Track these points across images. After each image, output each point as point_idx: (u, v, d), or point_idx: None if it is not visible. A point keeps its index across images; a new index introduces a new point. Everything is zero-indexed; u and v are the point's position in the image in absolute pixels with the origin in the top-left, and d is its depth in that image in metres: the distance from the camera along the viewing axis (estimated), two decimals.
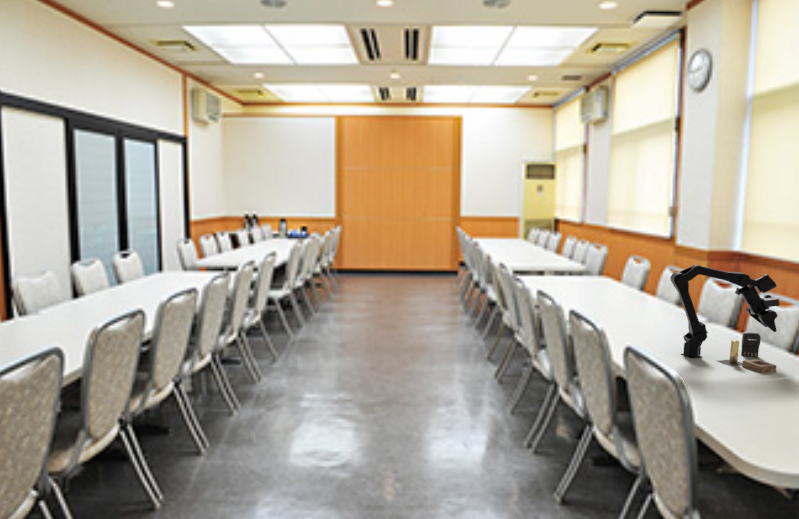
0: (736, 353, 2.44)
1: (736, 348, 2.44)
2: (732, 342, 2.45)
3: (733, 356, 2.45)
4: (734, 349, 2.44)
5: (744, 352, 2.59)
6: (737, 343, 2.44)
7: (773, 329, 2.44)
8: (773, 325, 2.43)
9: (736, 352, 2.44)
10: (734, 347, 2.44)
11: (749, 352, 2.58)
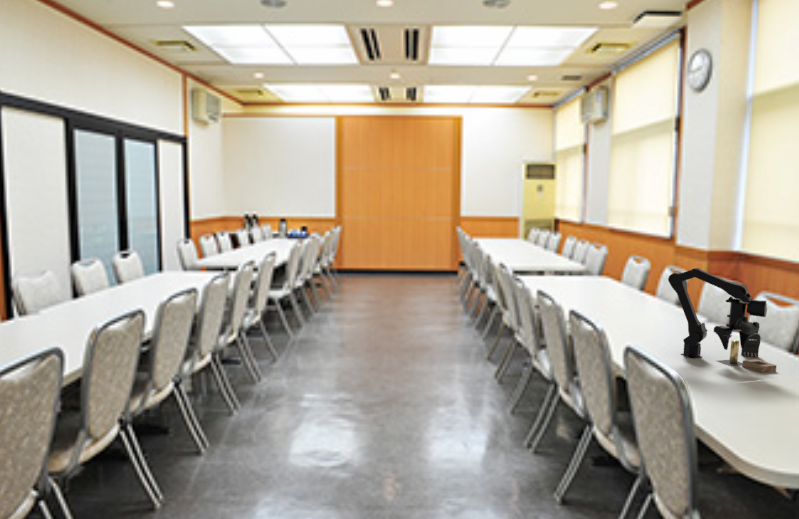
0: (736, 353, 2.44)
1: (736, 348, 2.44)
2: (732, 342, 2.45)
3: (733, 356, 2.45)
4: (734, 349, 2.44)
5: (744, 352, 2.59)
6: (737, 343, 2.44)
7: (724, 346, 2.44)
8: (725, 342, 2.43)
9: (736, 352, 2.44)
10: (734, 347, 2.44)
11: (749, 352, 2.58)
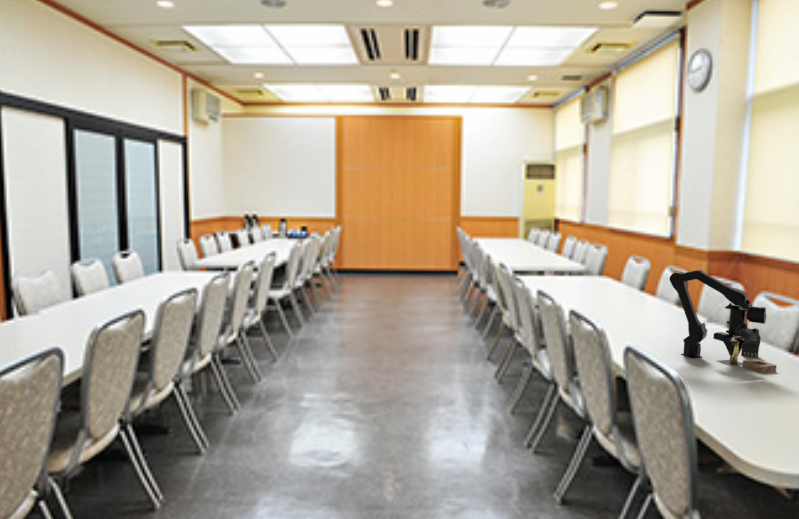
0: (736, 353, 2.44)
1: (736, 348, 2.44)
2: None
3: (733, 356, 2.45)
4: (734, 349, 2.44)
5: (744, 352, 2.59)
6: (737, 343, 2.44)
7: (729, 352, 2.46)
8: (730, 348, 2.45)
9: (736, 352, 2.44)
10: (734, 347, 2.44)
11: (749, 352, 2.58)
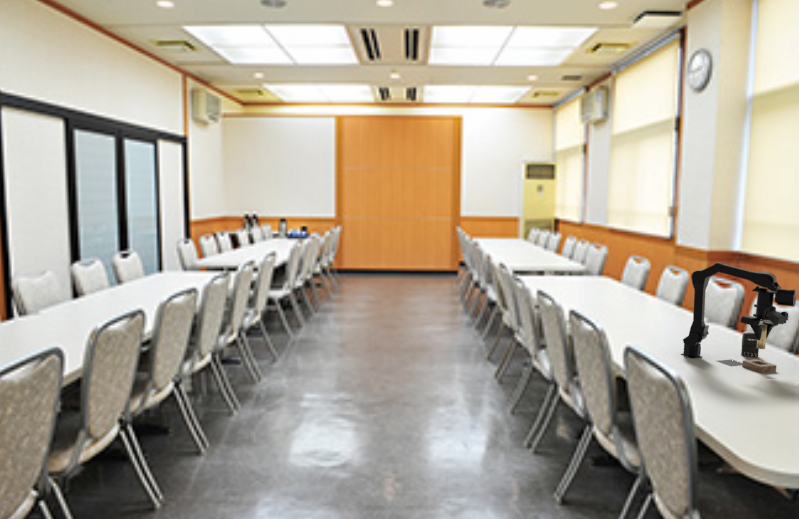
0: (764, 337, 2.36)
1: (764, 332, 2.36)
2: None
3: (760, 340, 2.36)
4: (762, 333, 2.36)
5: (744, 352, 2.59)
6: (765, 327, 2.35)
7: (756, 336, 2.37)
8: (757, 332, 2.36)
9: (764, 336, 2.36)
10: (762, 331, 2.36)
11: (749, 352, 2.58)
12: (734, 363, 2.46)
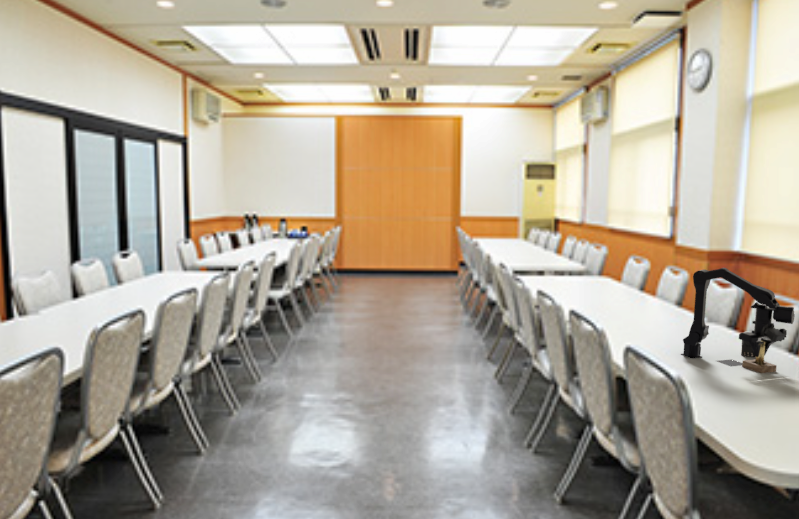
0: (762, 354, 2.37)
1: (762, 349, 2.37)
2: None
3: (759, 357, 2.37)
4: (760, 350, 2.37)
5: (744, 352, 2.59)
6: (763, 344, 2.36)
7: (755, 353, 2.38)
8: (756, 349, 2.37)
9: (762, 353, 2.37)
10: (760, 347, 2.37)
11: (749, 352, 2.58)
12: (734, 363, 2.46)
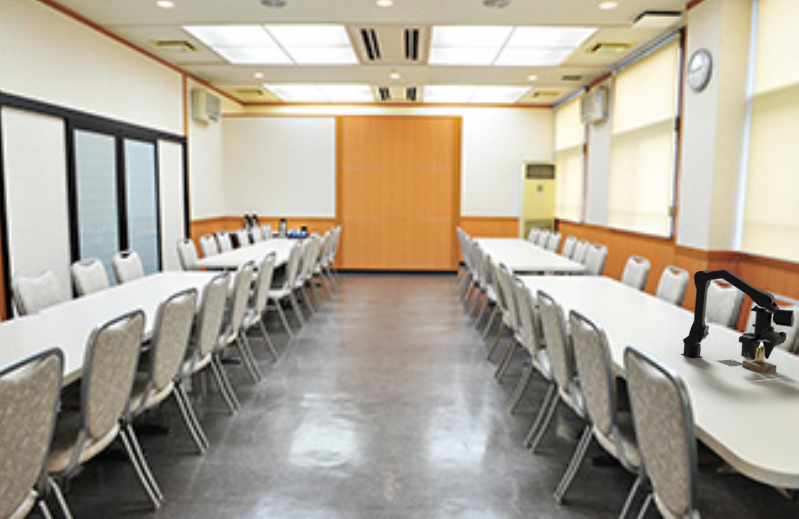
0: (762, 359, 2.37)
1: (762, 354, 2.37)
2: (758, 348, 2.38)
3: (758, 362, 2.38)
4: (760, 355, 2.37)
5: (744, 352, 2.59)
6: (763, 349, 2.37)
7: (751, 356, 2.38)
8: (752, 352, 2.37)
9: (762, 358, 2.37)
10: (760, 353, 2.37)
11: None
12: (734, 363, 2.46)
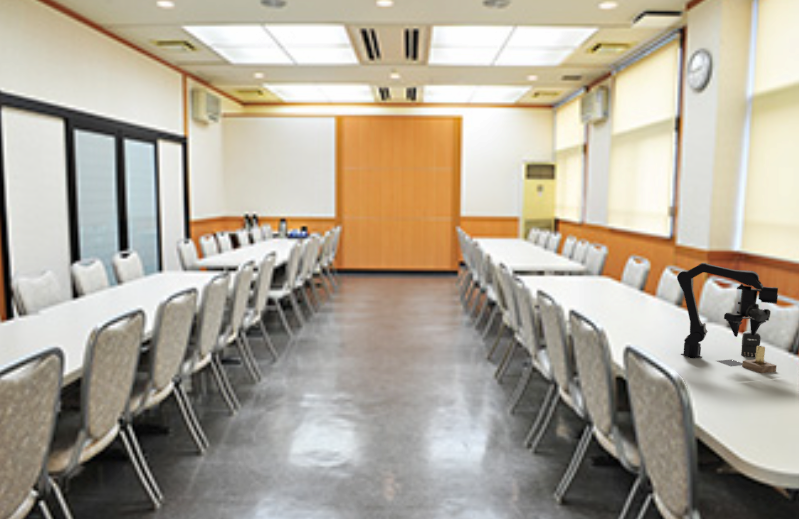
0: (762, 359, 2.37)
1: (762, 354, 2.37)
2: (758, 348, 2.38)
3: (758, 362, 2.38)
4: (760, 355, 2.37)
5: (744, 352, 2.59)
6: (763, 349, 2.37)
7: (734, 333, 2.44)
8: (735, 329, 2.42)
9: (762, 358, 2.37)
10: (760, 353, 2.37)
11: (749, 352, 2.58)
12: (734, 363, 2.46)
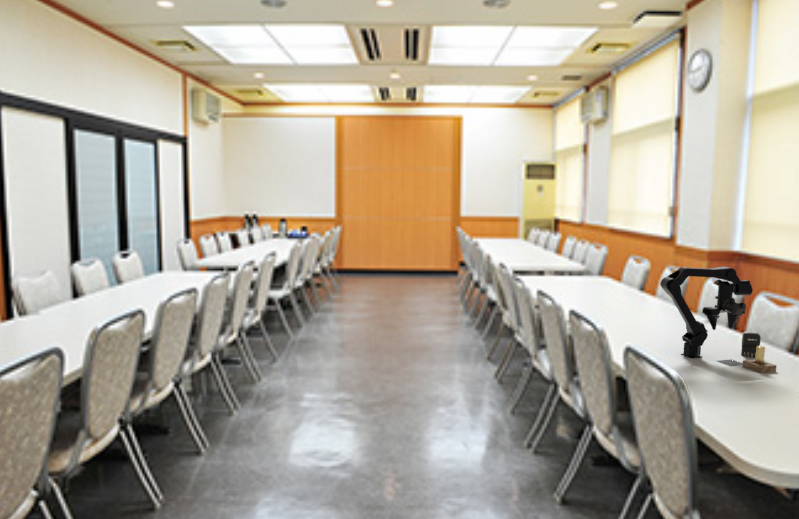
0: (762, 359, 2.37)
1: (762, 354, 2.37)
2: (758, 348, 2.38)
3: (758, 362, 2.38)
4: (760, 355, 2.37)
5: (744, 352, 2.59)
6: (763, 349, 2.37)
7: (712, 326, 2.54)
8: (713, 323, 2.53)
9: (762, 358, 2.37)
10: (760, 353, 2.37)
11: (749, 352, 2.58)
12: (734, 363, 2.46)
